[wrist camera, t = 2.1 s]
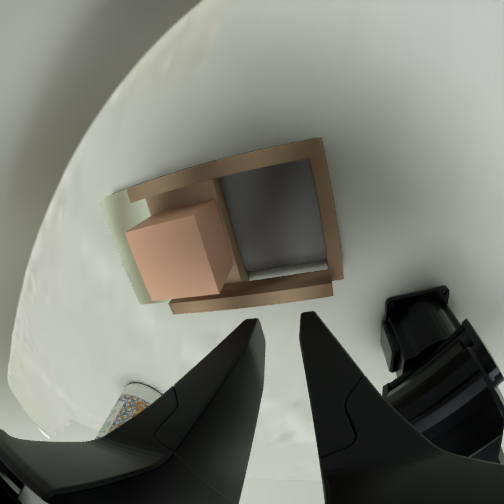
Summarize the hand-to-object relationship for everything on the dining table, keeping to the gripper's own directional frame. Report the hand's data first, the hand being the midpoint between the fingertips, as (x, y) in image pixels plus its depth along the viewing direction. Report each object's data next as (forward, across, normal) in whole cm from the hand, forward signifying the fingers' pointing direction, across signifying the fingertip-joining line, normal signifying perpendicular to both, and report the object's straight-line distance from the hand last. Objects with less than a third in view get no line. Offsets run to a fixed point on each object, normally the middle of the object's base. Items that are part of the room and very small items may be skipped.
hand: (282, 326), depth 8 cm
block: (+11, +7, 0) cm, 13 cm away
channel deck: (+13, +6, 0) cm, 14 cm away
